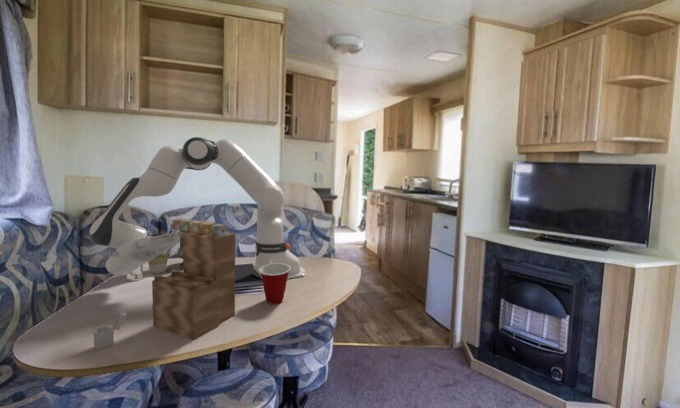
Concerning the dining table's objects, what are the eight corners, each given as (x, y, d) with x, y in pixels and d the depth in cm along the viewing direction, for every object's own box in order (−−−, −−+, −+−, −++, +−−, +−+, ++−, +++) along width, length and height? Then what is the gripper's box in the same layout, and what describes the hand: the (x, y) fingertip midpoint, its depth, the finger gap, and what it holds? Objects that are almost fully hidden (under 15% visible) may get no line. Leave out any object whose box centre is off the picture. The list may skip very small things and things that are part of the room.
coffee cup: (139, 272, 147) (138, 237, 146) (157, 266, 157) (156, 233, 155) (158, 275, 145) (158, 239, 143) (175, 268, 154) (175, 235, 153)
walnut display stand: (153, 326, 101) (151, 237, 99) (199, 305, 117) (198, 228, 114) (193, 339, 95) (193, 244, 92) (237, 316, 110) (237, 234, 107)
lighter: (94, 349, 88) (93, 318, 87) (94, 346, 90) (92, 316, 89) (127, 341, 92) (126, 312, 92) (126, 339, 94) (125, 310, 93)
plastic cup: (251, 302, 121) (251, 268, 120) (271, 293, 131) (272, 261, 129) (276, 309, 116) (277, 274, 115) (295, 299, 126) (296, 266, 124)
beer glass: (148, 276, 143) (148, 240, 141) (137, 282, 136) (136, 244, 135) (132, 275, 144) (131, 239, 142) (120, 280, 137) (119, 243, 135)
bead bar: (171, 228, 111) (171, 219, 111) (179, 227, 114) (178, 218, 114) (219, 236, 103) (219, 226, 103) (226, 234, 106) (226, 224, 105)
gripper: (105, 249, 112) (129, 231, 106) (162, 237, 131) (185, 222, 125) (112, 267, 112) (137, 251, 106) (168, 253, 130) (192, 238, 124)
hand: (163, 235), depth 115 cm, fingers open, 8 cm apart
